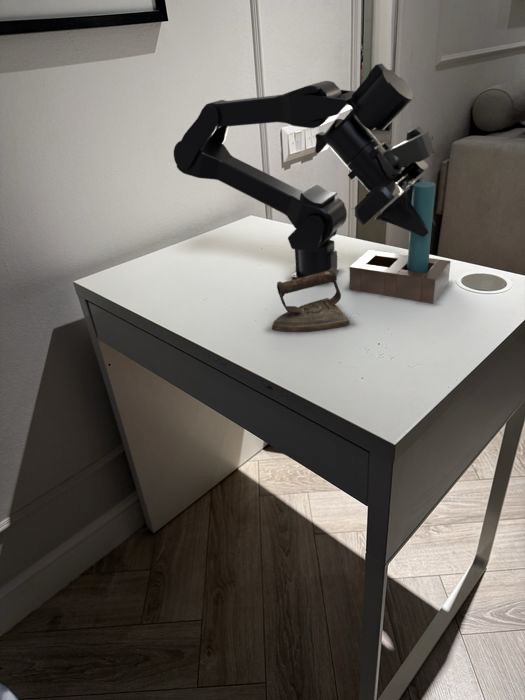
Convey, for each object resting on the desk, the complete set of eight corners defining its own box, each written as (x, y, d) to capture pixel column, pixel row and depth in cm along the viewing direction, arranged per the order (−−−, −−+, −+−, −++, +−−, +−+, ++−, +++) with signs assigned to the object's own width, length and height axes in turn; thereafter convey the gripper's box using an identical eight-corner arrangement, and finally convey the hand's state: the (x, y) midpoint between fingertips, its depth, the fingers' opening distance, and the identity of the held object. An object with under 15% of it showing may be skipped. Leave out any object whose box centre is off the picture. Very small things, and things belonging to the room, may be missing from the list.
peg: (412, 278, 82) (418, 188, 74) (403, 270, 84) (409, 183, 77) (431, 274, 82) (439, 185, 75) (422, 267, 85) (429, 180, 77)
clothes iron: (355, 326, 77) (342, 271, 70) (285, 357, 76) (266, 304, 70) (335, 303, 82) (322, 250, 76) (271, 331, 82) (252, 280, 75)
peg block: (349, 289, 87) (349, 266, 85) (368, 271, 92) (368, 249, 90) (433, 303, 80) (435, 279, 78) (448, 283, 85) (450, 260, 83)
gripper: (379, 123, 66) (459, 215, 66) (419, 101, 79) (486, 178, 80) (323, 183, 73) (395, 265, 74) (368, 154, 87) (429, 224, 88)
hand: (429, 230), depth 79 cm, fingers closed on peg, 3 cm apart
